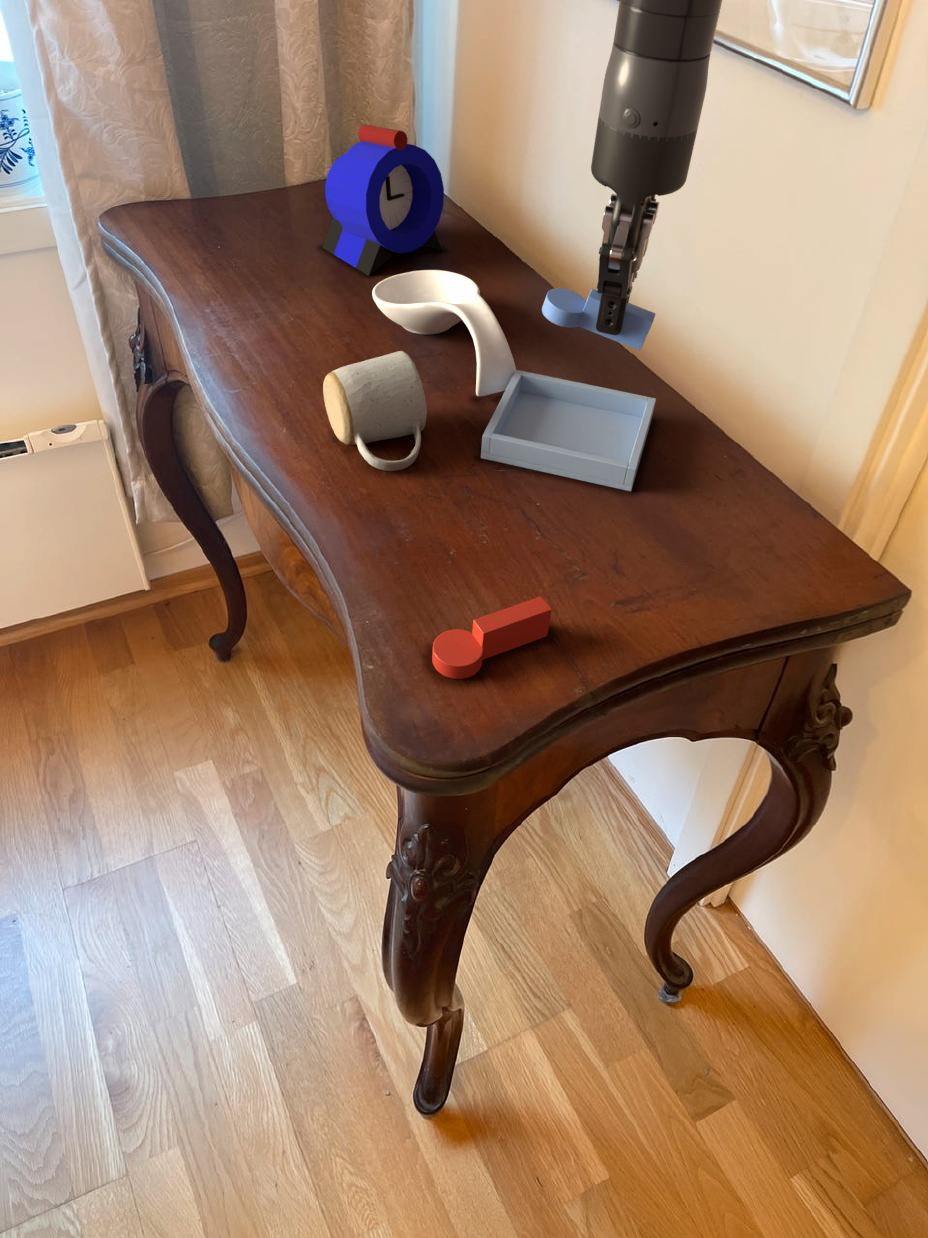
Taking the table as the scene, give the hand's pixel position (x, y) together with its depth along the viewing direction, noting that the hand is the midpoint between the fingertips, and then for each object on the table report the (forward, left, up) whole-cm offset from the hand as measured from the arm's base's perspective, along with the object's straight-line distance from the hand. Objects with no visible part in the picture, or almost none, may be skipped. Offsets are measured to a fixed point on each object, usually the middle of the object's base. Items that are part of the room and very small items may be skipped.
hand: (610, 326), depth 83 cm
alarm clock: (+34, -33, -13) cm, 50 cm away
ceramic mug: (+19, +7, -13) cm, 24 cm away
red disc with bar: (+2, +30, -13) cm, 32 cm away
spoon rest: (+19, -13, -13) cm, 26 cm away
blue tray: (+2, 0, -13) cm, 13 cm away
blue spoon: (+2, 0, 0) cm, 2 cm away
